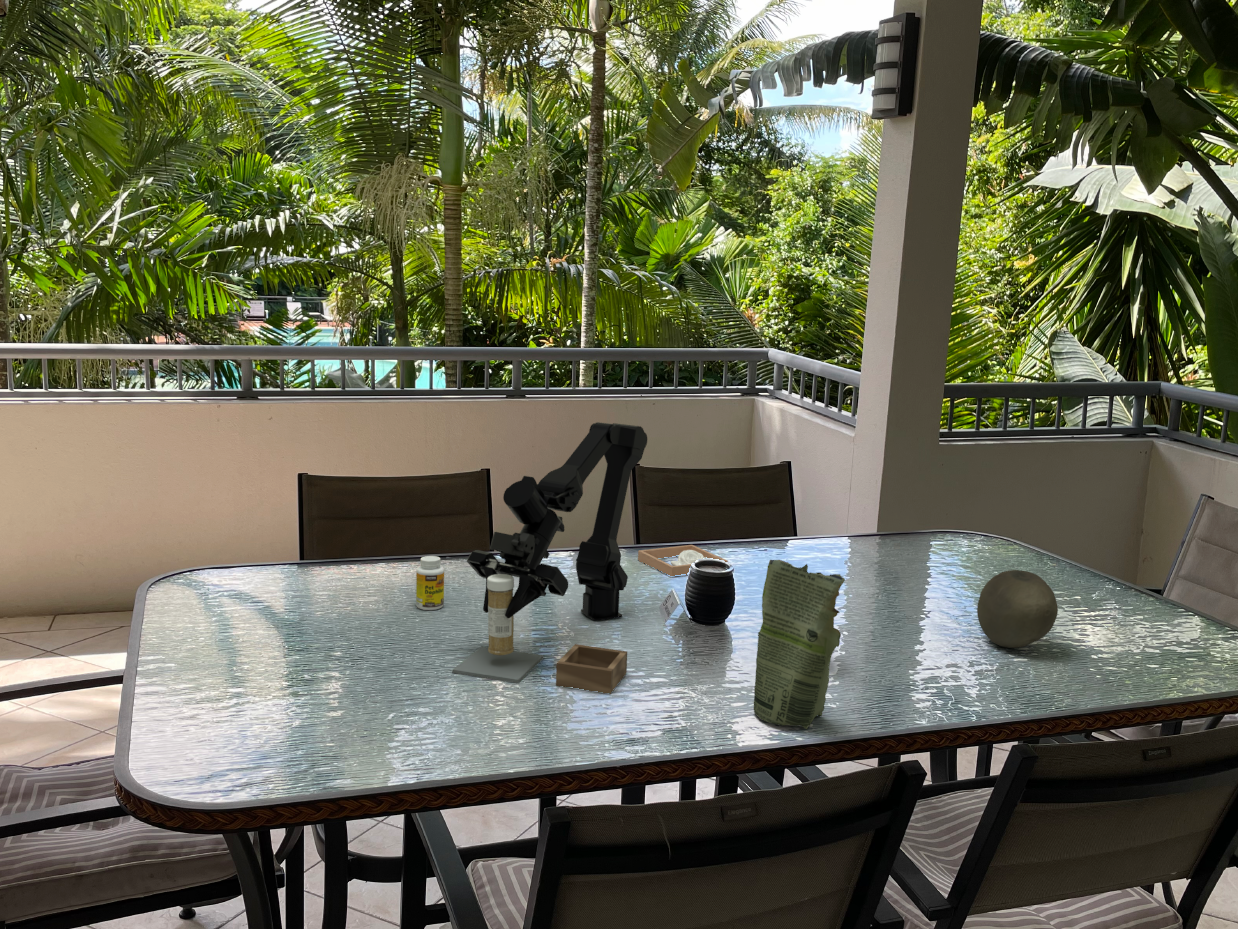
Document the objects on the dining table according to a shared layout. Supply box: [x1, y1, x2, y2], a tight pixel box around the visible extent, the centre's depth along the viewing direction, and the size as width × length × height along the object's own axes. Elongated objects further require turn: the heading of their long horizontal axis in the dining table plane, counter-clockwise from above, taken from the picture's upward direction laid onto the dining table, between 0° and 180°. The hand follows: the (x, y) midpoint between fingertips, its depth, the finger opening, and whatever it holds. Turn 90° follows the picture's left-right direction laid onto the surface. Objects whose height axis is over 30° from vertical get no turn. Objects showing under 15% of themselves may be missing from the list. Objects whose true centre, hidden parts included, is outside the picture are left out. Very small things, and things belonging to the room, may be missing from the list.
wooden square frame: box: [637, 544, 729, 576], centre depth 239 cm, size 16×16×2 cm
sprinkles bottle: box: [487, 574, 515, 655], centre depth 171 cm, size 5×5×14 cm
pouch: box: [753, 559, 846, 730], centre depth 154 cm, size 11×12×25 cm
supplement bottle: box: [415, 555, 445, 611], centre depth 201 cm, size 6×6×10 cm
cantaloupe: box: [976, 569, 1059, 649], centre depth 190 cm, size 14×14×15 cm
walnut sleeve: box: [555, 643, 628, 695], centre depth 168 cm, size 10×10×4 cm
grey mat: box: [451, 645, 545, 684], centre depth 173 cm, size 12×12×1 cm
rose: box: [670, 550, 706, 566], centre depth 238 cm, size 10×4×10 cm
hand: (495, 614), depth 170 cm, fingers closed on sprinkles bottle, 4 cm apart
